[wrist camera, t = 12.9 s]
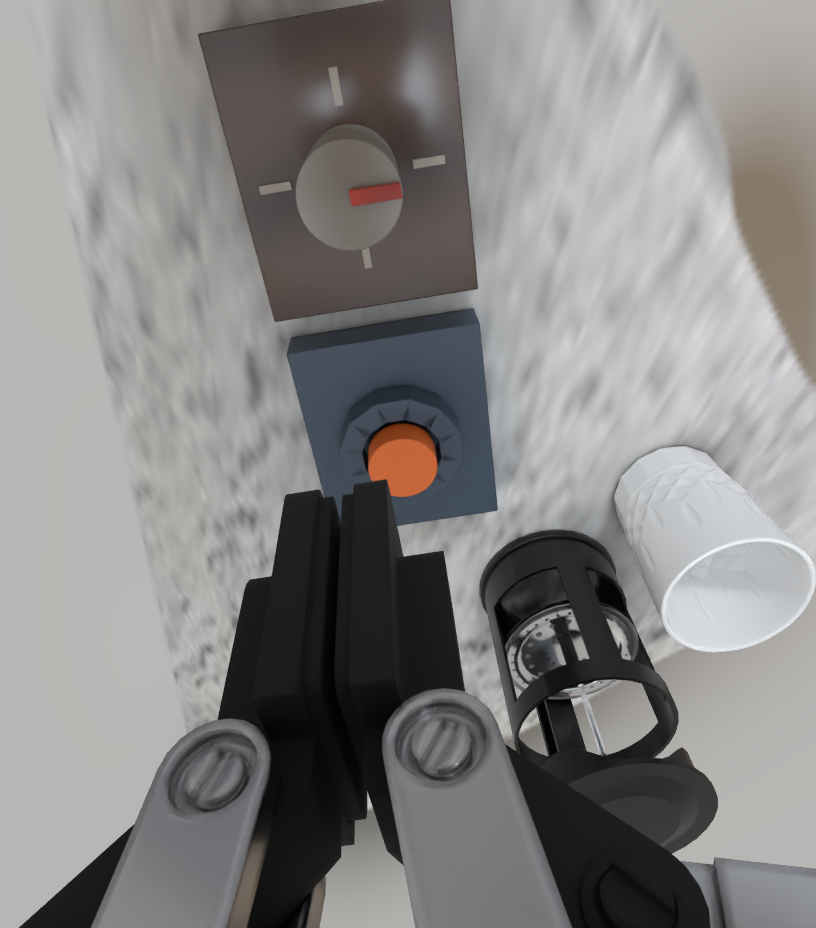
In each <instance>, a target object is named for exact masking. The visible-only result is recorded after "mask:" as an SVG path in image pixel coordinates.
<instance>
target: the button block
mask: <svg viewBox="0 0 816 928" xmlns="http://www.w3.org/2000/svg"><path fill="white" fill-rule="evenodd" d="M287 357H288V361H289V365H290V369H291V372H292V376H293V380H294V384H295V387H296V391H297V395H298V399H299V403H300V406H301V410H302V414H303V418H304V421H305V425H306V429H307V433H308V437H309V440H310V444H311V448H312V452H313V455H314V459H315V463H316V467H317V471H318V474H319V478H320V482H321V486H322V489H323V493H324V497H331V496H333V497H334V499H335V502H336V505H337V509H338V513H339V516H340V520H341V510H342V496H343V495H344V494H351V493H353V488H354V484H358V483H365V482H371V481H372V480H371V478H370V476H369V471H368V450H369V445H370V442H371V440H372V439H373V437H374V436H375V435H376V434H377V433H378V432H379V431H380V430H382V429H383V428H385V427H387V426H389V425H392V424H397V423H407V424H412V425H415V426H418V427H420V428H422V429H423V430H424V431H426V432H427V433H428V434H429V436H430V437H431V438H432V440H433V443H434V446H435V452H436V458H437V465H438V468H437V474H436V477H435V479H434V480H433V482H432V483H431V485H430V486H429V487H428V488H426V489H425V490H424V491H422V492H420V493H418V494H416V495H413V496H408V497H396V496H391V499H392V504H393V509H394V514H395V519H396V523H397V526H399V525H405V524H412V523H419V522H425V521H432V520H438V519H445V518H452V517H458V516H465V515H471V514H478V513H485V512H491V511H497V510H498V507H497V497H496V487H495V477H494V466H493V456H492V446H491V436H490V425H489V415H488V405H487V395H486V384H485V374H484V364H483V354H482V343H481V333H480V323H479V321H478V318H477V316H476V313H475V311H474V309H468V310H462V311H456V312H450V313H444V314H438V315H431V316H425V317H419V318H413V319H407V320H401V321H394V322H388V323H382V324H376V325H370V326H364V327H357V328H351V329H345V330H339V331H333V332H327V333H320V334H314V335H308V336H302V337H296V338H291V340H290V344H289V348H288V352H287Z"/></svg>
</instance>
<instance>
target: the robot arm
mask: <svg viewBox="0 0 816 928" xmlns="http://www.w3.org/2000/svg"><path fill="white" fill-rule="evenodd" d="M367 791H368V794H369V797H370V800H371V803H372V806H373V809H374V812H375V815H376V818H377V821H378V824H379V827H380V830H381V833H382V837H383V839H384V843H385V845H386V849H387V851H388V852H389V853H390V854H391V855H392V856H393V857H395V858H396V859H397V860H398V861H399V862H400V863H401V864H403V865H404V870H405V875H406V880H407V885H408V890H409V896H410V901H411V906H412V911H413V917H414V922H415V927H416V928H816V869H812V868H803V867H794V866H786V865H777V864H768V863H759V862H751V861H742V860H733V859H724V858H716V857H715V859H714V864H713V865H711V864H701V863H693V862H685V861H679V860H678V859H677V858H676V857H675V856H673V855H672V854H671V853H670V852H669V851H668V850H666V849H665V848H663V847H662V846H660V845H659V844H657V843H656V842H654V841H652V840H651V839H649V838H648V837H646V836H645V835H643V834H642V833H640V832H639V831H637V830H636V829H634V828H633V827H631V826H630V825H628V824H626V823H625V822H623V821H622V820H620V819H619V818H617V817H616V816H614V815H613V814H611V813H610V812H608V811H607V810H605V809H603V808H602V807H600V806H599V805H597V804H596V803H594V802H593V801H591V800H590V799H588V798H587V797H585V796H584V795H582V794H581V793H579V792H577V791H576V790H574V789H573V788H571V787H570V786H568V785H567V784H565V783H564V782H562V781H561V780H559V779H558V778H556V777H554V776H553V775H551V774H550V773H548V772H547V771H545V770H544V769H542V768H541V767H539V766H538V765H536V764H535V763H533V762H532V761H530V760H528V759H527V758H525V757H524V756H522V755H521V754H519V753H518V752H516V751H515V750H513V749H511V748H510V747H509V746H507V745H505V743H504V740H503V738H502V735H501V732H500V729H499V727H498V724H497V722H496V720H495V718H494V716H493V715H492V713H491V711H490V710H489V708H488V707H487V706H486V705H485V704H483V703H482V702H481V701H480V700H479V699H478V698H477V697H475V696H472V695H470V694H468V693H466V692H465V689H464V682H463V675H462V668H461V661H460V655H459V648H458V641H457V634H456V628H455V621H454V614H453V608H452V601H451V595H450V589H449V582H448V576H447V570H446V563H445V557H444V551H439V552H432V553H425V554H419V555H412V556H405V557H403V553H402V548H401V543H400V538H399V533H398V528H397V523H396V519H395V514H394V509H393V504H392V499H391V494H390V489H389V485H388V481H387V479H384V480H378V481H371V482H365V483H358V484H354V488H353V493H351V494H344V495H343V496H342V510H341V520H340V516H339V513H338V509H337V505H336V502H335V499H334V497H333V496H331V497H325V498H323V496H322V493H321V491H320V490H313V491H306V492H300V493H293V494H287V495H286V496H285V499H284V505H283V511H282V517H281V523H280V529H279V535H278V541H277V548H276V554H275V560H274V566H273V572H272V576H271V577H265V578H258V579H251V580H249V581H248V583H247V584H246V587H245V591H244V595H243V600H242V605H241V610H240V615H239V619H238V624H237V629H236V634H235V639H234V643H233V648H232V653H231V658H230V663H229V667H228V672H227V677H226V682H225V687H224V691H223V696H222V701H221V706H220V711H219V716H218V720H216V721H212V722H209V723H207V724H204V725H202V726H200V727H197V728H195V729H194V730H192V731H191V732H190V733H188V734H187V735H185V736H184V737H183V738H181V739H180V740H179V741H178V742H177V743H176V744H175V745H174V747H172V748H171V750H170V751H169V752H168V753H167V754H166V756H165V758H164V759H163V761H162V763H161V765H160V766H159V768H158V770H157V772H156V775H155V777H154V779H153V782H152V784H151V787H150V789H149V791H148V794H147V796H146V798H145V801H144V803H143V806H142V808H141V810H140V813H139V815H138V818H137V820H136V822H135V824H134V825H133V826H132V827H130V828H129V829H128V830H127V831H126V832H125V833H124V834H123V835H122V836H121V837H119V838H118V839H117V840H116V841H115V842H114V843H113V844H112V845H111V846H109V848H107V849H106V850H105V851H104V852H103V853H102V854H100V856H98V857H97V858H96V859H95V860H94V861H93V862H92V863H91V864H90V865H88V866H87V867H86V868H85V869H84V870H83V871H82V872H80V873H79V874H78V875H77V876H76V877H75V878H74V879H73V880H72V881H70V882H69V883H68V884H67V885H66V886H65V887H64V888H63V889H62V890H60V891H59V892H58V893H57V894H56V895H55V896H54V897H53V898H52V899H50V900H49V901H48V902H47V903H46V904H45V905H44V906H43V907H42V908H40V909H39V910H38V911H37V912H36V913H35V914H34V915H33V916H32V917H30V918H29V919H28V920H27V921H26V922H25V923H24V924H23V925H22V926H20V927H19V928H319V926H320V921H321V915H322V910H323V904H324V898H325V886H326V877H325V875H326V874H327V873H328V872H329V870H330V869H331V868H332V867H333V866H334V865H335V863H336V862H337V861H338V860H339V859H340V858H341V846H345V845H353V844H354V834H355V831H354V830H355V827H354V826H355V820H361V819H366V817H367Z"/></svg>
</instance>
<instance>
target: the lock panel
mask: <svg viewBox="0 0 816 928" xmlns="http://www.w3.org/2000/svg"><path fill="white" fill-rule="evenodd" d="M198 37H199V41H200V44H201V48H202V52H203V56H204V59H205V63H206V67H207V71H208V74H209V78H210V82H211V86H212V89H213V93H214V97H215V100H216V104H217V108H218V112H219V115H220V119H221V123H222V127H223V130H224V134H225V138H226V142H227V145H228V149H229V153H230V157H231V160H232V164H233V168H234V171H235V175H236V179H237V183H238V186H239V190H240V194H241V198H242V201H243V205H244V209H245V213H246V216H247V220H248V224H249V228H250V231H251V235H252V239H253V243H254V246H255V250H256V254H257V257H258V261H259V265H260V269H261V272H262V276H263V280H264V284H265V287H266V291H267V295H268V299H269V302H270V306H271V310H272V314H273V317H274V321H275V322H278V321H284V320H290V319H296V318H303V317H309V316H315V315H321V314H327V313H333V312H339V311H345V310H352V309H358V308H364V307H370V306H376V305H382V304H388V303H394V302H401V301H407V300H413V299H419V298H425V297H431V296H437V295H443V294H450V293H456V292H462V291H468V290H474V289H478V284H477V274H476V263H475V253H474V242H473V232H472V222H471V211H470V201H469V190H468V180H467V170H466V159H465V149H464V138H463V128H462V118H461V107H460V97H459V86H458V76H457V66H456V55H455V45H454V34H453V24H452V13H451V3H450V0H384V1H378V2H372V3H367V4H361V5H356V6H350V7H345V8H339V9H334V10H328V11H322V12H317V13H311V14H306V15H300V16H295V17H289V18H283V19H278V20H272V21H267V22H261V23H256V24H250V25H245V26H239V27H233V28H228V29H222V30H217V31H211V32H206V33H200V34H198ZM343 124H357V125H362V126H365V127H367V128H369V129H371V130H373V131H375V132H376V133H378V134H379V135H380V136H381V137H382V138H383V139H384V140H385V141H386V142H387V144H388V145H389V147H390V148H391V150H392V152H393V154H394V157H395V160H396V163H397V168H398V172H399V176H400V180H401V185H402V193H403V201H402V208H401V212H400V216H399V218H398V221H397V223H396V225H395V226H394V228H393V229H392V231H391V232H390V233H389V234H388V235H387V236H386V237H385V238H384V239H383V240H382V241H380V242H379V243H378V244H376V245H374V246H372V247H369V248H367V249H363V250H358V251H344V250H339V249H336V248H332V247H330V246H328V245H326V244H324V243H323V242H321V241H320V240H318V239H317V238H316V237H315V236H314V235H313V234H312V233H311V232H310V231H309V230H308V228H307V227H306V225H305V224H304V222H303V220H302V218H301V216H300V213H299V210H298V207H297V202H296V183H297V178H298V175H299V172H300V169H301V167H302V165H303V163H304V161H305V160H306V158H307V156H308V154H309V152H310V150H311V148H312V146H313V144H314V143H315V142H316V140H317V139H318V138H319V137H320V136H321V135H322V134H323V133H325V132H326V131H328V130H329V129H331V128H333V127H336V126H339V125H343Z"/></svg>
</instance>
